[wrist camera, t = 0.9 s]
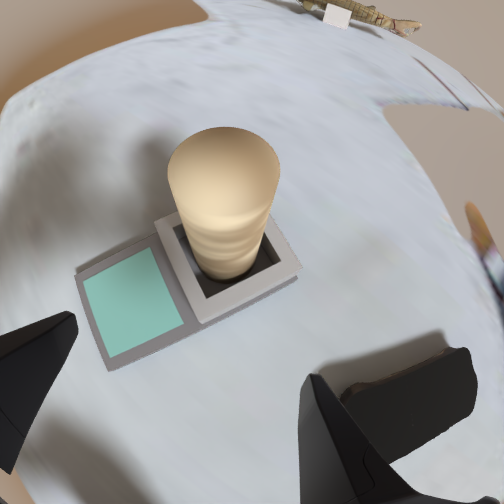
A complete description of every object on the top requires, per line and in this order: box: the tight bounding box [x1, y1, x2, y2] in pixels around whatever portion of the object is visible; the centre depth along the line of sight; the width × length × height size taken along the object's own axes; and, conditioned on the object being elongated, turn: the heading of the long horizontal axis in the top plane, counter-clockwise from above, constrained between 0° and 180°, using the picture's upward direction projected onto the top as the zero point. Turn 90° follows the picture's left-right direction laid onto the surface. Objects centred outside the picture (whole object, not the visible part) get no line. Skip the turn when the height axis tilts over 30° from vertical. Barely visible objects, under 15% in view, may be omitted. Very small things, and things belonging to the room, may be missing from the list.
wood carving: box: [296, 0, 422, 37], centre depth 41 cm, size 9×35×11 cm, turn 66°
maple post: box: [168, 127, 280, 284], centre depth 17 cm, size 5×5×12 cm
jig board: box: [74, 211, 303, 372], centre depth 21 cm, size 18×9×4 cm, turn 118°
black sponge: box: [339, 347, 478, 464], centre depth 19 cm, size 16×8×4 cm, turn 98°
